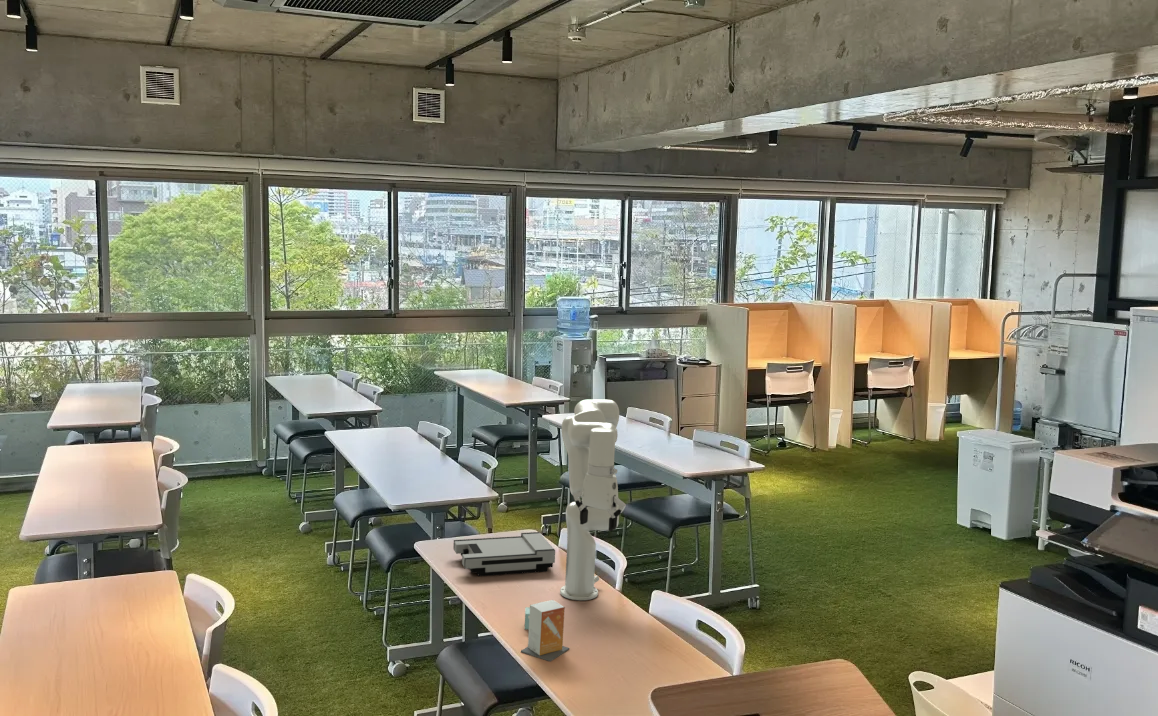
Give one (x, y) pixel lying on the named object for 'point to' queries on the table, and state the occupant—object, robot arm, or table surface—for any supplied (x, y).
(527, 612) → the letter cube
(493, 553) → the gray flat machine
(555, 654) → the pad
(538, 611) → the small box
